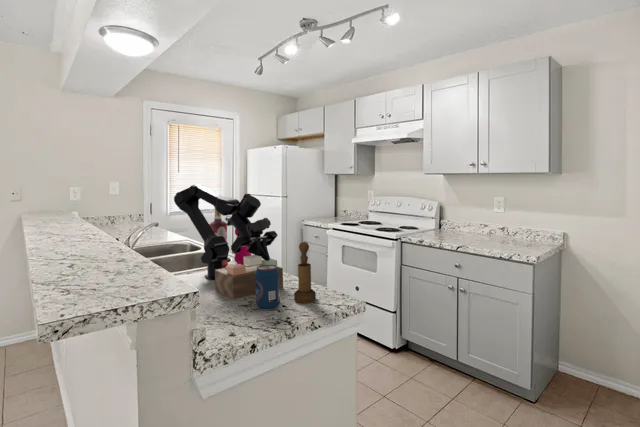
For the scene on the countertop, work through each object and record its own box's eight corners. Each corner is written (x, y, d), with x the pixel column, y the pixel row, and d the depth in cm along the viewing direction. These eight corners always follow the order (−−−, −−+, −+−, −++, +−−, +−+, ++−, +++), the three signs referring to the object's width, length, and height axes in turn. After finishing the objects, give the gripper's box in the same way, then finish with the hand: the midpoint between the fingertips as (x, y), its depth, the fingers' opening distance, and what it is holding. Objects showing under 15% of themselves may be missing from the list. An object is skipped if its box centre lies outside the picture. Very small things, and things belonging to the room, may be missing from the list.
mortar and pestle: (299, 304, 110) (298, 245, 109) (291, 298, 116) (289, 241, 114) (319, 301, 113) (318, 242, 112) (310, 295, 119) (308, 239, 117)
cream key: (243, 263, 124) (243, 256, 124) (255, 261, 127) (255, 254, 127) (250, 266, 121) (249, 258, 121) (261, 263, 124) (261, 256, 123)
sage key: (259, 267, 128) (259, 260, 128) (270, 265, 131) (270, 258, 131) (266, 269, 125) (266, 262, 125) (277, 267, 128) (277, 260, 127)
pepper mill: (248, 270, 153) (246, 222, 151) (231, 270, 155) (229, 222, 153) (254, 266, 160) (253, 220, 158) (239, 266, 162) (237, 220, 160)
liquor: (215, 270, 154) (212, 203, 152) (208, 267, 160) (205, 202, 157) (231, 267, 159) (229, 202, 156) (224, 264, 165) (221, 201, 162)
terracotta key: (227, 273, 121) (226, 265, 121) (239, 270, 124) (239, 263, 123) (233, 275, 117) (232, 268, 117) (245, 273, 120) (245, 266, 120)
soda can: (252, 305, 110) (251, 266, 109) (274, 301, 114) (273, 263, 112) (261, 312, 104) (259, 271, 103) (283, 308, 107) (282, 267, 106)
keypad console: (215, 289, 127) (214, 268, 126) (262, 280, 138) (262, 260, 138) (233, 299, 116) (232, 276, 115) (283, 288, 127) (282, 267, 127)
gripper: (235, 213, 121) (261, 249, 116) (272, 208, 137) (297, 240, 132) (220, 235, 126) (244, 271, 121) (257, 229, 142) (281, 260, 137)
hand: (268, 259), depth 128 cm, fingers closed, pressing on sage key
